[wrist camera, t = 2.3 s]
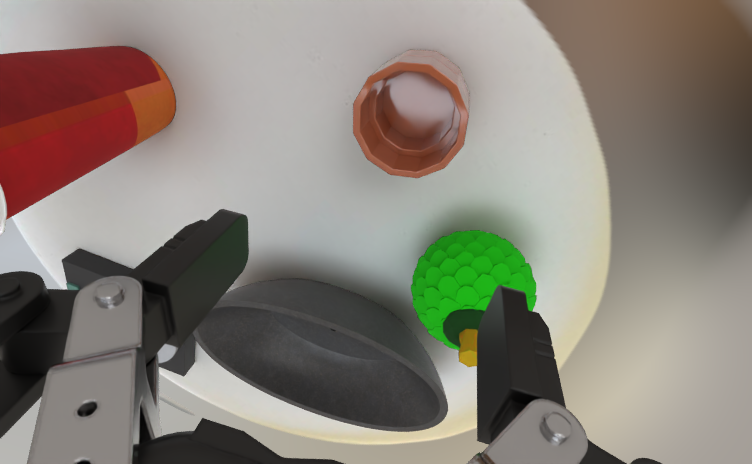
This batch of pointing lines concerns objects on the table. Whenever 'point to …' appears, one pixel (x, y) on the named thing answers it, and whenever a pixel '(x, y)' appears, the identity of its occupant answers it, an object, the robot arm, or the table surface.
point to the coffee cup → (73, 116)
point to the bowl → (325, 354)
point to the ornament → (466, 286)
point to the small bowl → (412, 114)
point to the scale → (91, 267)
